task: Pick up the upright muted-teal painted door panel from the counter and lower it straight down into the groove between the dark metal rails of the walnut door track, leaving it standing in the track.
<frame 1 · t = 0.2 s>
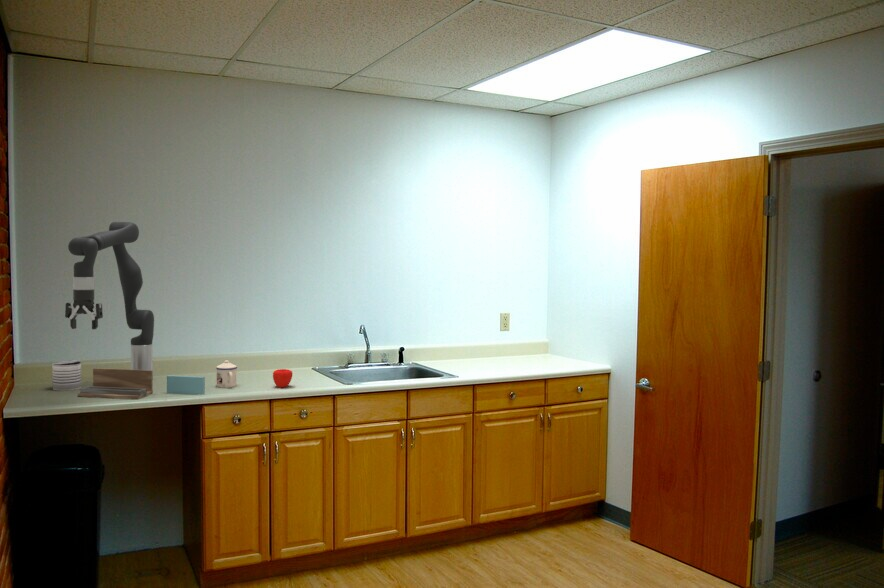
hand: (84, 328, 281), 29 cm above the counter, fingers open, 8 cm apart
can: (67, 388, 307), on the counter
apple: (282, 387, 321), on the counter
teacup with lid: (227, 387, 318), on the counter
door track: (113, 395, 293), on the counter
sliding panel: (185, 393, 301), on the counter
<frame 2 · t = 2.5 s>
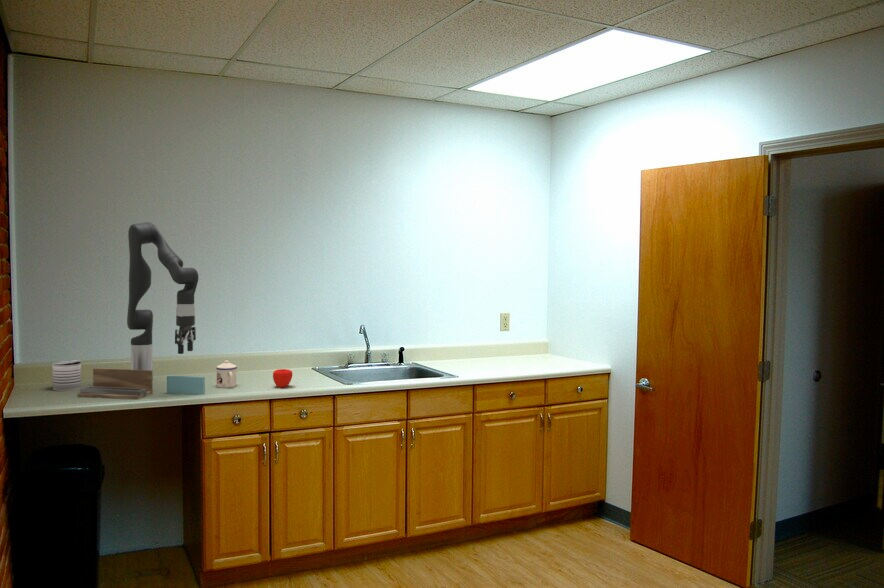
hand: (185, 352, 300), 18 cm above the counter, fingers open, 8 cm apart
nothing on the counter moved.
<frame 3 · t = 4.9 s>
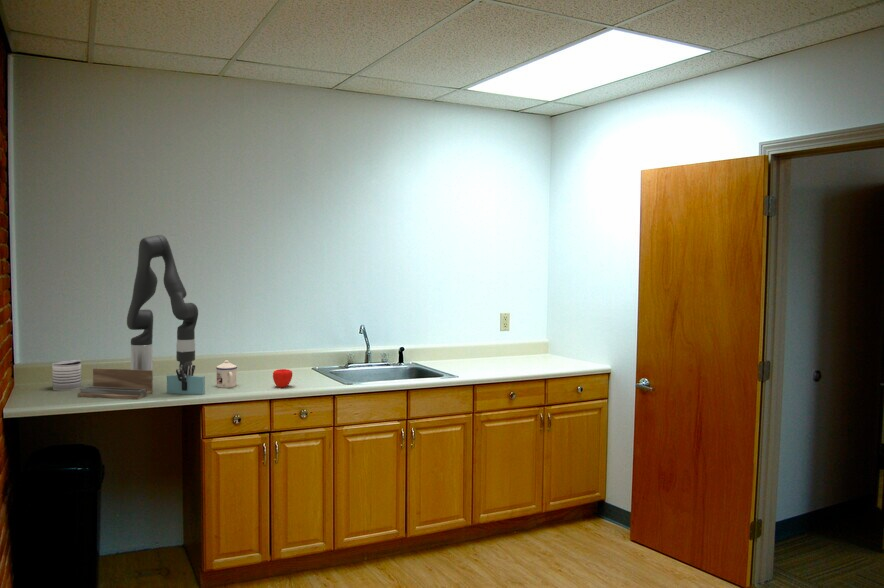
hand: (185, 389, 301), 2 cm above the counter, fingers closed on sliding panel, 2 cm apart
sliding panel: (185, 393, 302), on the counter, touching gripper
everything else where it was.
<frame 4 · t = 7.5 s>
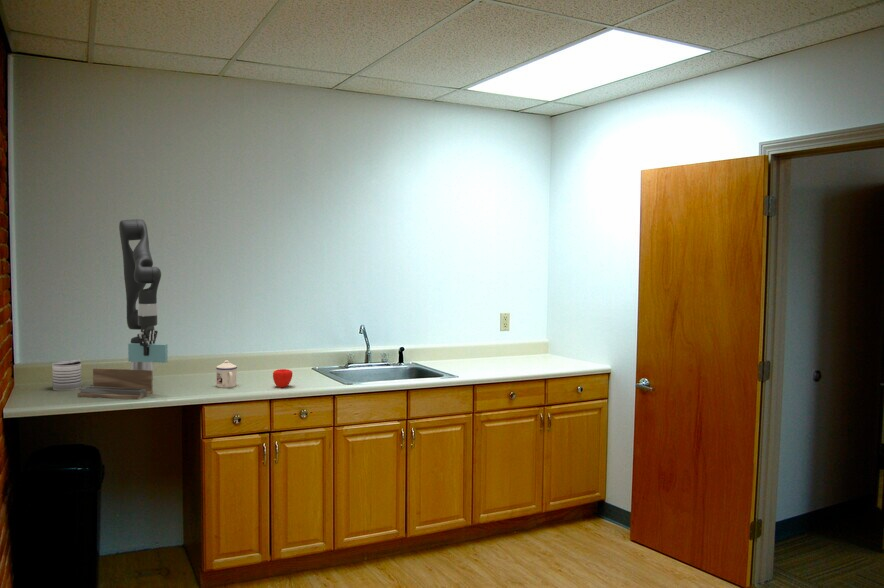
hand: (147, 355, 296), 17 cm above the counter, fingers closed on sliding panel
sliding panel: (148, 361, 297), point 14 cm above the counter, touching gripper
everything else where it was.
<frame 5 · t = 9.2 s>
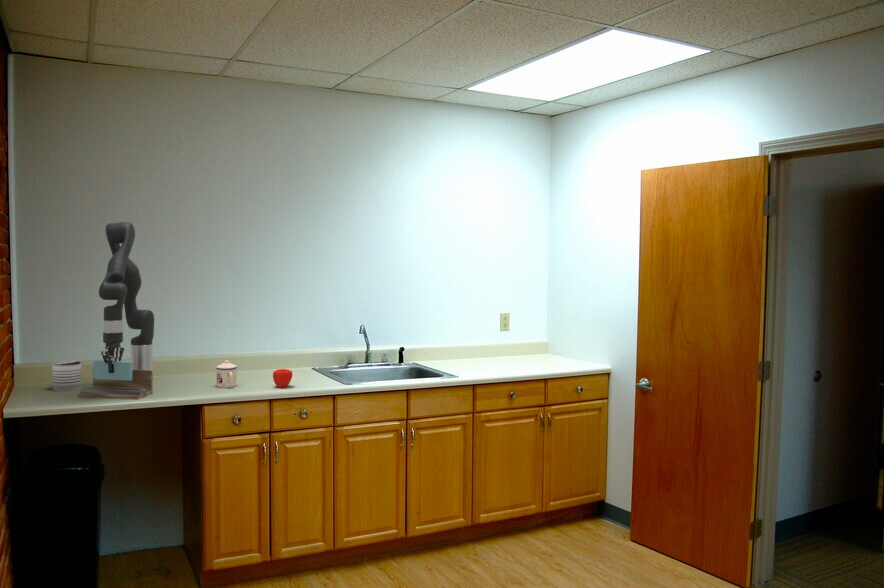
hand: (112, 372, 292), 10 cm above the counter, fingers closed on sliding panel
sliding panel: (112, 379, 293), point 7 cm above the counter, touching gripper
everything else where it was.
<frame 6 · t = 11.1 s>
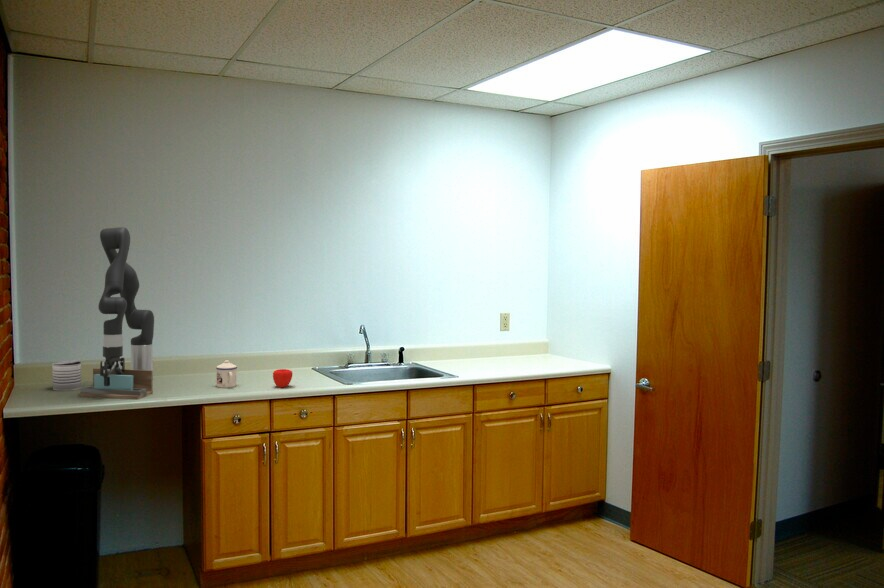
hand: (112, 384, 292), 5 cm above the counter, fingers open, 8 cm apart
sliding panel: (113, 392, 293), point 1 cm above the counter, touching door track
everything else where it was.
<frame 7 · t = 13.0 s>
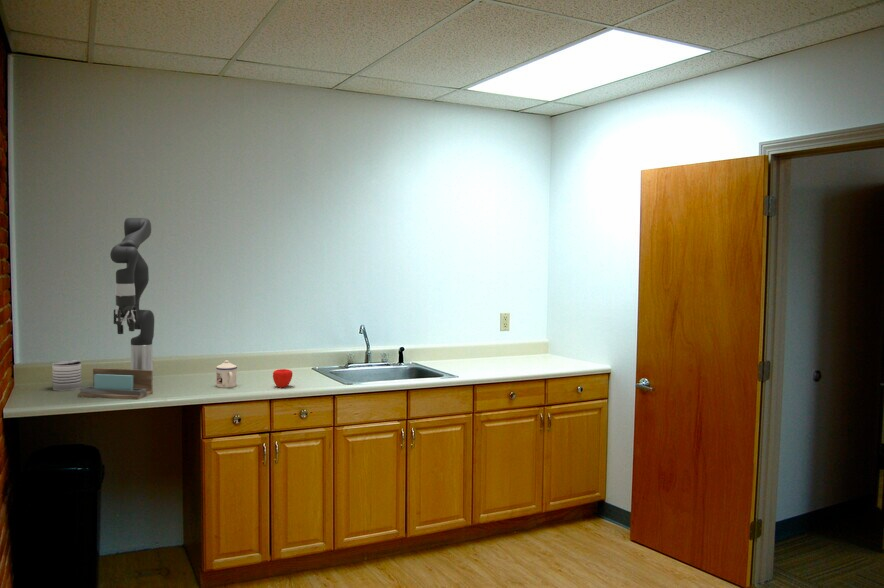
hand: (126, 332, 296), 26 cm above the counter, fingers open, 8 cm apart
nothing on the counter moved.
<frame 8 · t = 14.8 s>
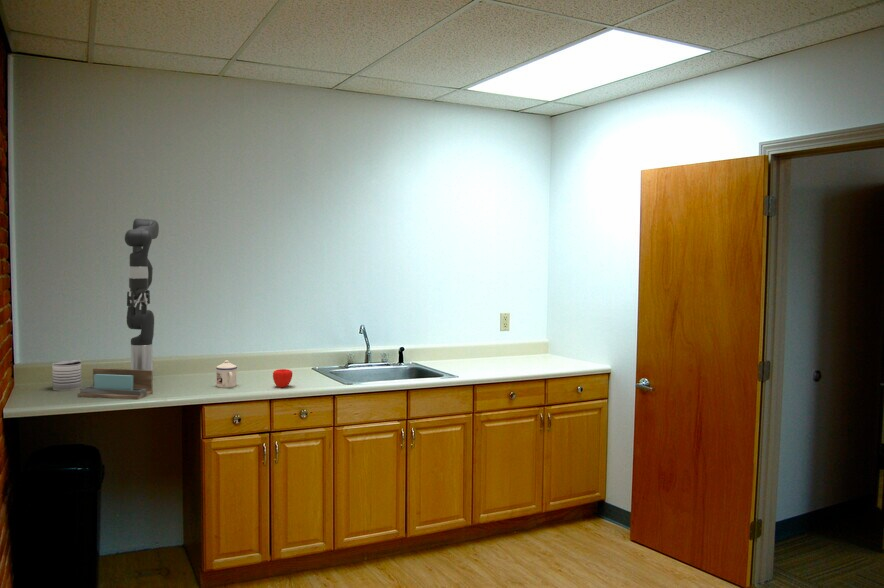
hand: (138, 315, 300), 33 cm above the counter, fingers open, 8 cm apart
nothing on the counter moved.
at the end: sliding panel inside the target area on the door track (0.0 cm from its centre), point 1.2 cm above the door track's base; sliding panel tilted 0°; the gripper is holding nothing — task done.
